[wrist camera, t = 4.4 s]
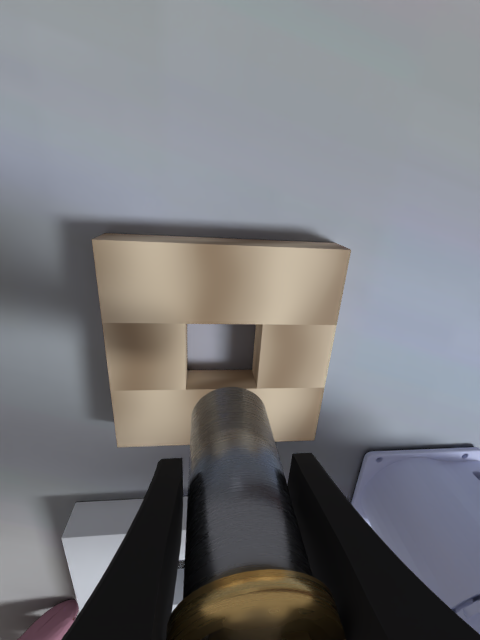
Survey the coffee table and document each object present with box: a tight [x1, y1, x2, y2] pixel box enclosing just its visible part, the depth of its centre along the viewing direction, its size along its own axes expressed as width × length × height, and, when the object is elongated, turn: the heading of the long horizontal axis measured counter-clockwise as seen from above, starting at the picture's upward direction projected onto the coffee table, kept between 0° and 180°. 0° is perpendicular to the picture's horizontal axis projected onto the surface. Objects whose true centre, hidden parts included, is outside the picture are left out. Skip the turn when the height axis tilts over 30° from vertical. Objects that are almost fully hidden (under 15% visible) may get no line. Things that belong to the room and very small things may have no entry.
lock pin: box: [166, 387, 346, 640], centre depth 9 cm, size 4×4×7 cm
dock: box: [61, 496, 188, 611], centre depth 25 cm, size 12×12×2 cm
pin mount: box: [92, 233, 351, 447], centre depth 18 cm, size 12×12×2 cm
